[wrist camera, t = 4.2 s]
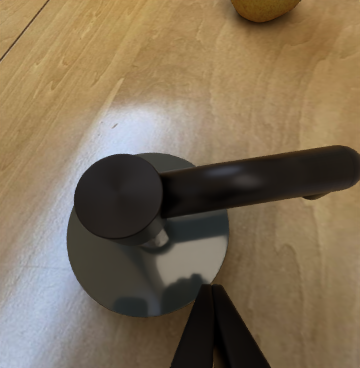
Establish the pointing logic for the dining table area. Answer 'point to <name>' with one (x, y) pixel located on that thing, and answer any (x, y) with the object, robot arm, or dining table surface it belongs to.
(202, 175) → the spout
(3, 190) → the dining table surface
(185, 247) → the faucet base
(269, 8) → the fruit
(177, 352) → the robot arm
